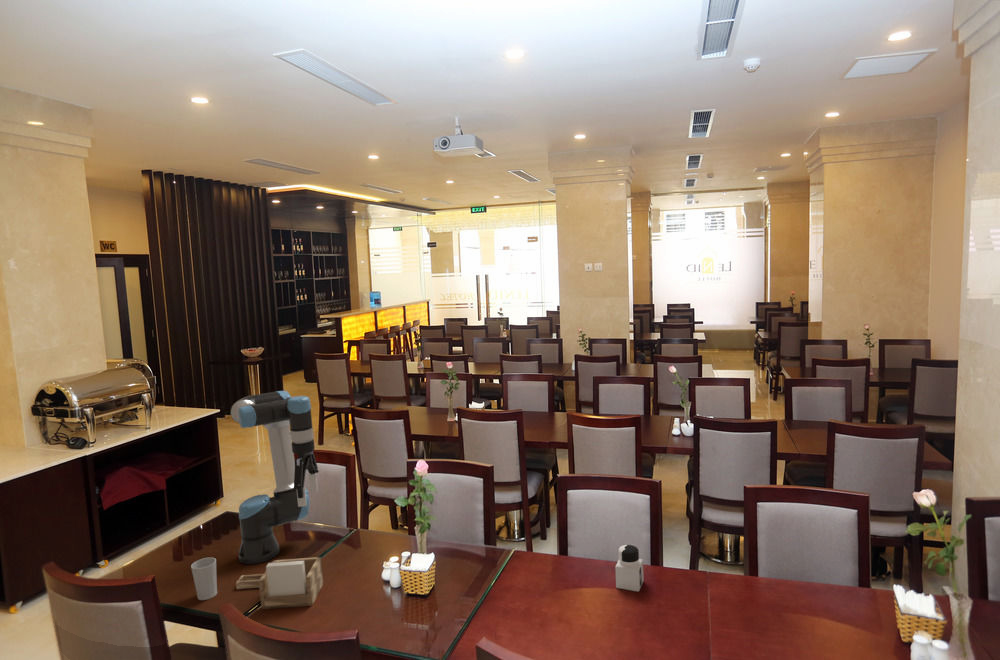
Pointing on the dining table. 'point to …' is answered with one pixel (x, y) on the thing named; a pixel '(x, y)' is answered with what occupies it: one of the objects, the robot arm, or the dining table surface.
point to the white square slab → (286, 578)
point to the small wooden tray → (248, 581)
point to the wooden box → (313, 587)
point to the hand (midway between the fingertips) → (308, 498)
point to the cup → (205, 578)
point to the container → (629, 569)
